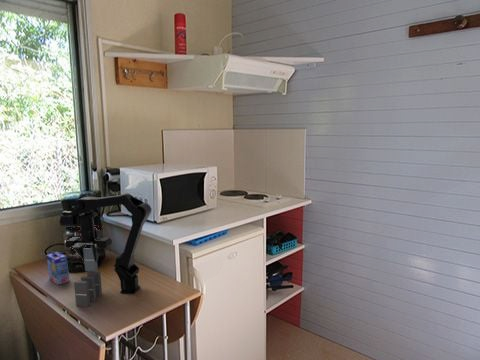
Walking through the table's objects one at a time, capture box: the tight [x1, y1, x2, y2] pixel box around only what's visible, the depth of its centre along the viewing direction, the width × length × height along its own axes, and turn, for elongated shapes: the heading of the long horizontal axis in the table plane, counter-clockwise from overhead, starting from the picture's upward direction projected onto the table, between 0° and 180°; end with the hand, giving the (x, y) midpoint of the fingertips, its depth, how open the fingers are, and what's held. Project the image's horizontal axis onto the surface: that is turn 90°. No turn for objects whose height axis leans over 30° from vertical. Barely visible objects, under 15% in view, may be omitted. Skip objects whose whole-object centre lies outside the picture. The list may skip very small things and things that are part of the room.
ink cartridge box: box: [46, 250, 70, 285], centre depth 161 cm, size 10×6×14 cm, turn 50°
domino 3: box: [86, 271, 103, 297], centre depth 147 cm, size 5×2×10 cm, turn 82°
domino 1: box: [73, 280, 91, 308], centre depth 138 cm, size 5×2×10 cm, turn 82°
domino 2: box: [83, 248, 99, 272], centre depth 151 cm, size 5×2×10 cm, turn 82°
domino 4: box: [80, 275, 97, 302], centre depth 143 cm, size 5×2×10 cm, turn 82°
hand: (90, 261), depth 151 cm, fingers closed on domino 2, 5 cm apart
